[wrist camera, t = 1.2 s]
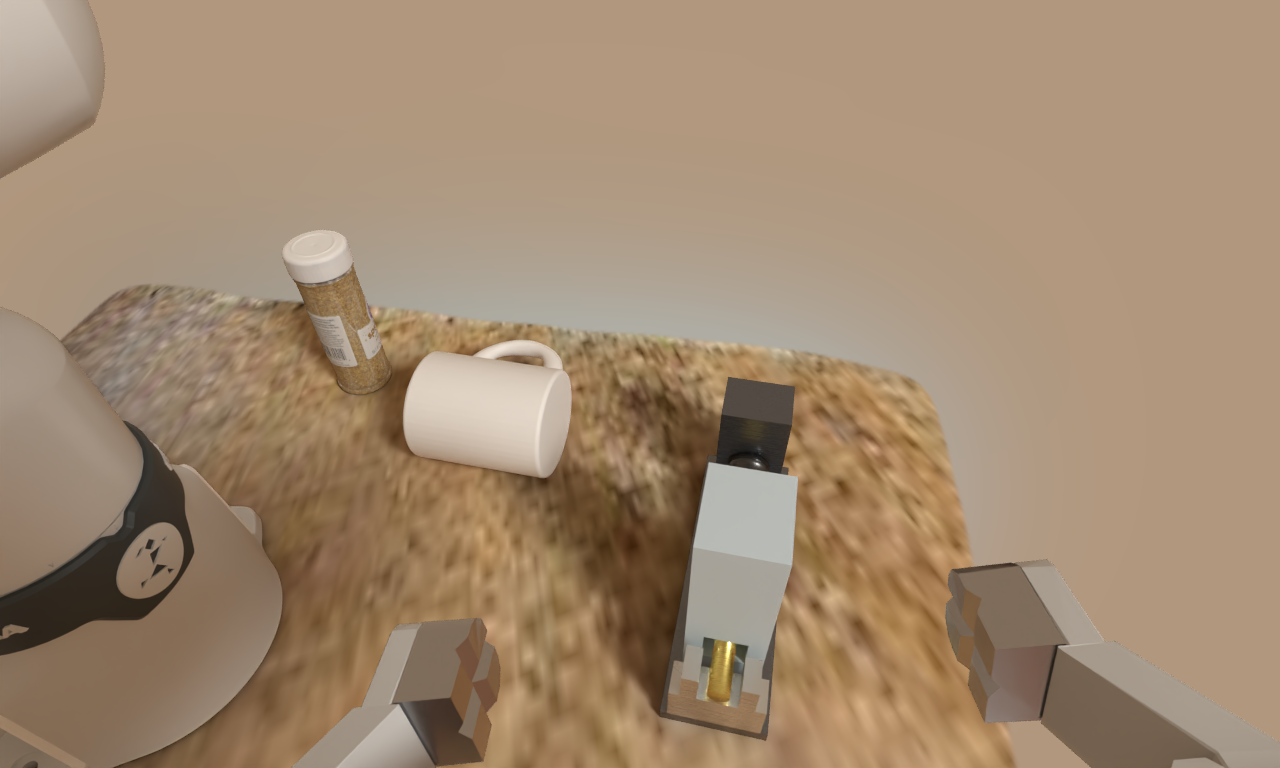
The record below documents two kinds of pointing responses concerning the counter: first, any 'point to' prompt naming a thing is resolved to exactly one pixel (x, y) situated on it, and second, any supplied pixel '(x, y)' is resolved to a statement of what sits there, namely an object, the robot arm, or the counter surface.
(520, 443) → the mug
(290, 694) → the counter surface
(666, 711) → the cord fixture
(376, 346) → the sprinkles bottle
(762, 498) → the box sleeve
